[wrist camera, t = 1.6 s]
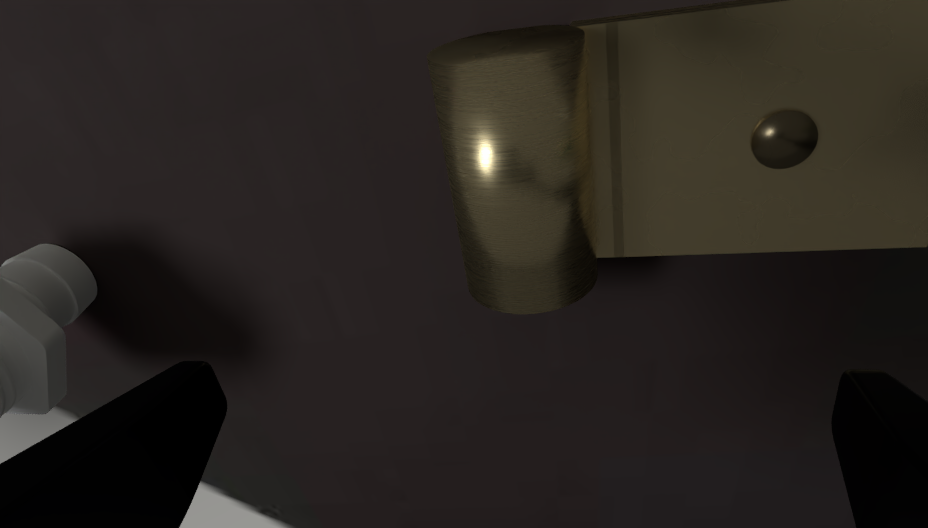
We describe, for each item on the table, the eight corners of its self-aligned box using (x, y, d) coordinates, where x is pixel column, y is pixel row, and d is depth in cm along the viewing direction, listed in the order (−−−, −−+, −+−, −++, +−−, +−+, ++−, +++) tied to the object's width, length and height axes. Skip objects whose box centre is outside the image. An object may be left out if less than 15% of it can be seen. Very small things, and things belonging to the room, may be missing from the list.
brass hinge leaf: (912, 229, 18) (981, 309, 15) (480, 246, 21) (456, 314, 18) (973, -31, 14) (1083, -6, 11) (446, 36, 18) (409, 72, 14)
